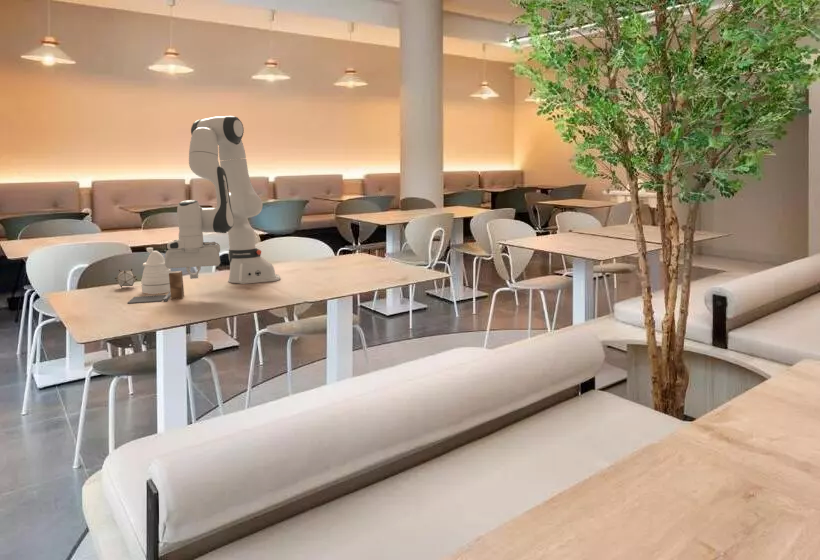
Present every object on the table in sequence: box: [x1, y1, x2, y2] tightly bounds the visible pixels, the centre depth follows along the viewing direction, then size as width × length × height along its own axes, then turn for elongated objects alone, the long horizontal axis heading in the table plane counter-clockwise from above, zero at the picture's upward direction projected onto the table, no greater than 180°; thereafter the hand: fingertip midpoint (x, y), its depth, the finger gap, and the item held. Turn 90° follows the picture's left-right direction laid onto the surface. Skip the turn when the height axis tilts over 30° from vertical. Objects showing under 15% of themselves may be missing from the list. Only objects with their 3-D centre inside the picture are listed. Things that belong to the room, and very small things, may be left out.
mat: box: [127, 294, 167, 305], centre depth 244 cm, size 12×12×1 cm
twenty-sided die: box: [114, 268, 138, 288], centre depth 272 cm, size 9×8×10 cm
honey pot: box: [140, 247, 172, 295], centre depth 261 cm, size 13×13×18 cm
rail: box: [162, 292, 171, 303], centre depth 246 cm, size 1×14×1 cm, turn 12°
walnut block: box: [169, 270, 185, 301], centre depth 246 cm, size 4×6×10 cm, turn 12°
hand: (194, 278), depth 247 cm, fingers closed
